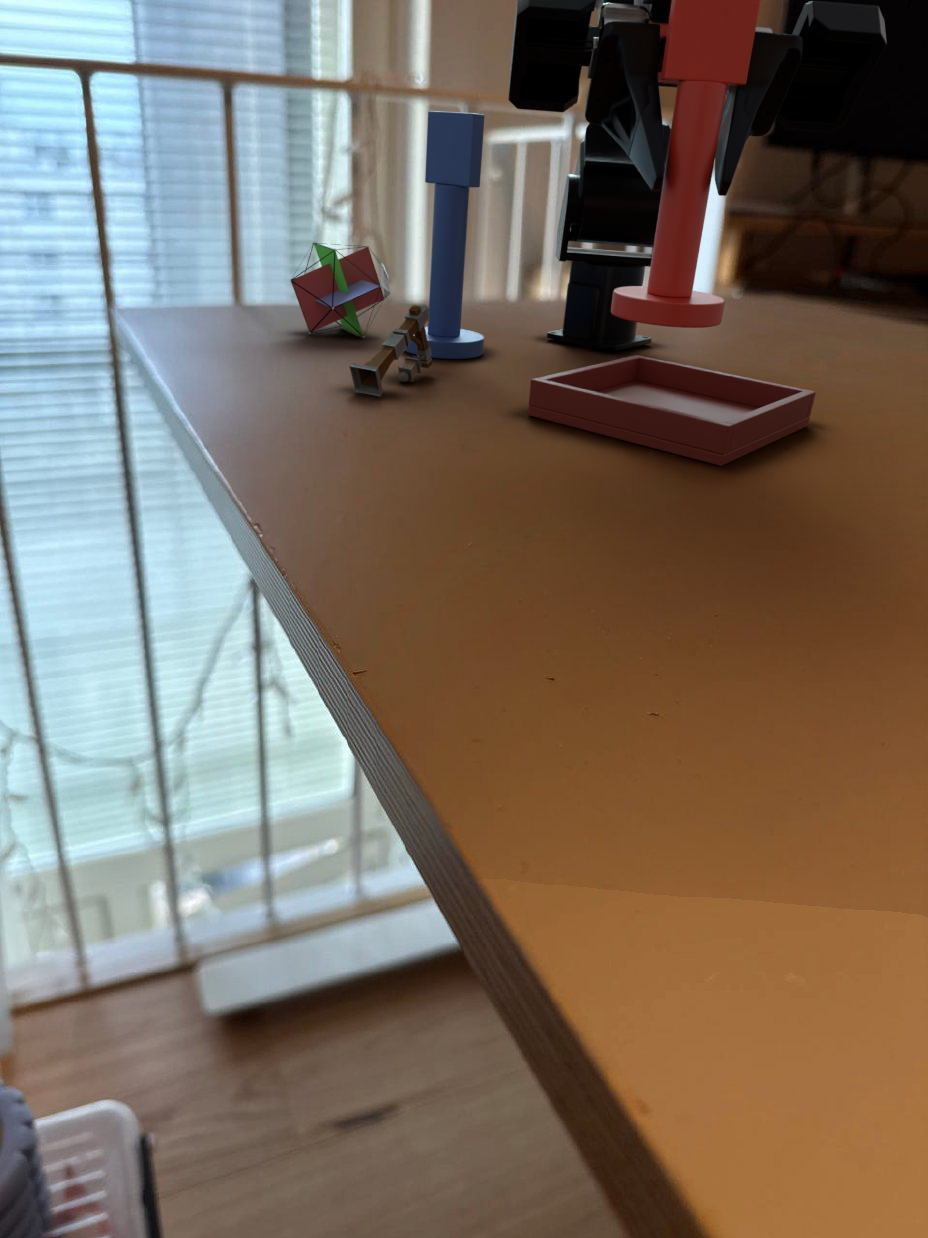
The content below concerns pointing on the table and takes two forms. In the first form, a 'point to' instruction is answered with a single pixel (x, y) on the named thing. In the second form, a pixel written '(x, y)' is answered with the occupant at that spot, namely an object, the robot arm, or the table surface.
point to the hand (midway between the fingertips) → (691, 186)
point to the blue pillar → (451, 228)
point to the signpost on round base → (691, 157)
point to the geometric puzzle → (339, 289)
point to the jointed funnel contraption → (396, 354)
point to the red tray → (672, 407)
